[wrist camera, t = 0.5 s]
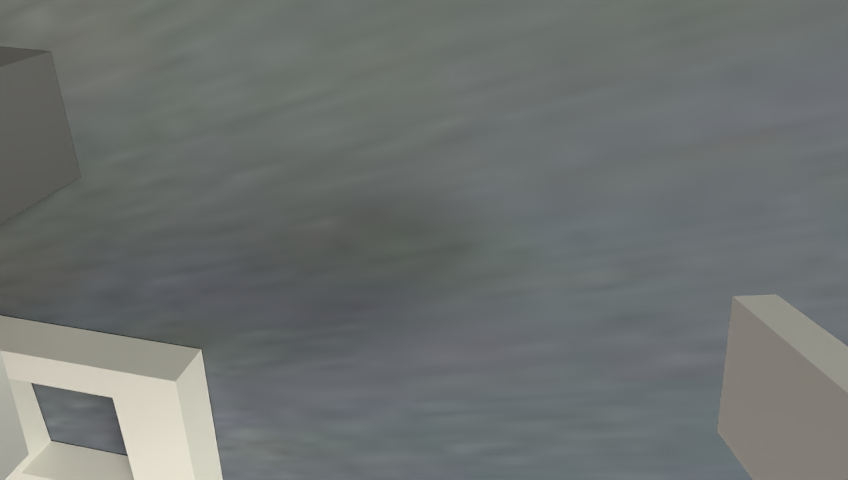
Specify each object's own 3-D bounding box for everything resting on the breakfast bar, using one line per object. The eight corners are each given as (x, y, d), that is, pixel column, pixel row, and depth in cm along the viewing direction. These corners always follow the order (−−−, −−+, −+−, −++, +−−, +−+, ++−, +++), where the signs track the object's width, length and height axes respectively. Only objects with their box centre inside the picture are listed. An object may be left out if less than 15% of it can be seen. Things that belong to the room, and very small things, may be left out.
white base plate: (-52, 306, 28) (-97, 336, 26) (201, 349, 26) (172, 384, 24) (35, 527, 35) (5, 563, 33) (237, 572, 33) (218, 613, 32)
